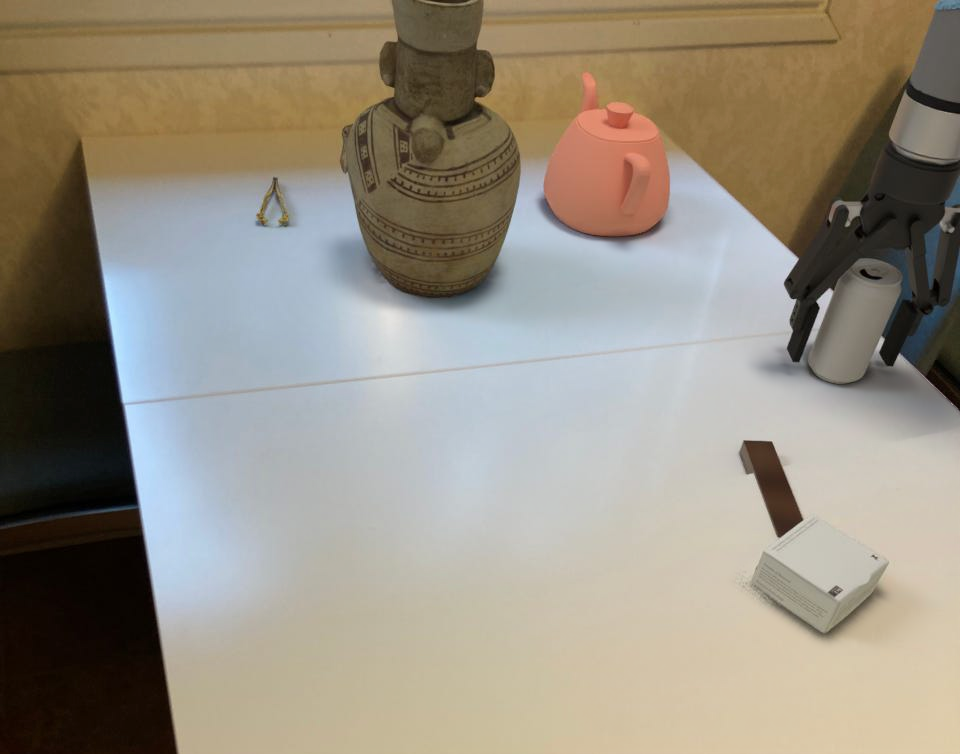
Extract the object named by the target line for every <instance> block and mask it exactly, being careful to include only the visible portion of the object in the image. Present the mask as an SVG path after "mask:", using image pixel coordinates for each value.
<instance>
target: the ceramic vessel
mask: <svg viewBox="0 0 960 754" xmlns="http://www.w3.org/2000/svg"><path fill="white" fill-rule="evenodd" d="M391 4H392V12H393V20H394V27H395V31H396V35H397V41H386V42H385V43H384V44H383V46H382V48H381V50H380V52H379V60H378V68H379V75H380V78H381V80H382V82H383V84H384V85H385V86H386V87H389V88H393V89H394V90H393V96H391V97H390V96H389V97H386V98H384V99H381V101H379V102H377V103H375V104H372V105H371V106H369V107H367V108H366V109H365V110H363V111H362V112H361V113H360V114H359V115H358V116H357V117H356V119H354V122H353V123H351V124H347V125H345V126H344V127H343V128H342V129H341V138H342V147H341V148H342V149H341V153H340V157H339V164H340V168H341V170H342V173H343V174H344V175H346V174H347V175H348V180H349V185H350V189H351V195H352V198H353V203H354V208H355V214H356V218H357V222H358V227H359V230H360V234H361V236H362V239H363V241H364V245H365V246H366V250H367V251H368V254H369V256H370V258H371V259H372V261H373V263H374V265H375V266H376V268H377V270H378V271H379V272H380V274H381V276H382V277H383V278H384V279H385V280H386V281H387V282H388V284H390V285H391V287H393V288H394V289H396V290H397V291H400V292H403V293H405V294H408V295H411V296H415V297H416V296H417V297H421V298H427V299H428V298H429V299H442V298H443V299H444V298H449V299H450V298H454V297H456V296H460V295H463V294H465V293H467V292H471V291H473V290H475V289H476V288H477V287H478V286H479V284H480V283H481V282H482V281H483V280H484V279H485V278H486V277H487V276H488V274H489V273H490V272H491V270H493V267H494V266H495V263H496V261H497V259H498V258H499V255H500V253H501V250H502V248H503V246H504V242H505V240H506V237H507V234H508V231H509V228H510V225H511V221H512V218H513V214H514V212H515V211H514V210H515V207H516V202H517V198H518V194H519V189H520V181H521V175H522V174H521V172H522V169H521V168H522V166H521V165H522V164H521V163H522V162H521V154H520V153H521V152H520V148H519V144H518V141H517V138H516V136H515V134H514V132H513V130H512V129H511V126H510V125H509V123H508V122H507V121H506V120H505V119H504V118H503V117H502V116H501V115H500V114H499V113H497V112H496V111H494V110H493V109H491V108H489V107H487V106H486V105H485V104H483V103H481V102H479V101H476V98H481V99H482V98H485V97H486V96H487V95H488V94H490V92H491V91H492V90H493V89H492V88H493V84H494V82H495V78H496V74H495V73H496V67H495V64H494V59H493V56H492V54H491V52H490V51H488V50H486V49H478V47H477V46H478V40H479V37H480V34H481V30H482V25H483V24H482V23H483V17H484V16H483V15H484V5H485V2H484V0H391Z"/></svg>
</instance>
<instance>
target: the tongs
mask: <svg viewBox="0 0 960 754" xmlns="http://www.w3.org/2000/svg"><path fill="white" fill-rule="evenodd" d="M274 192H276V195H277V197H278V200H279V202H280V208H281V210H282V214H283V216H281V217H280V218H278V219H277V222H278V224H279V225H281V227H283V226H285V225H286V223H287V222H288V221H289V220H290V214H288V212H287V208H286V205H285V200H284V199H285V198H284V195H283V192H282V191H281V189H280V187H279V178H278V176H276V177H275V176H273V177H272V182H271V185H270V188H269V189H268V191H266V192H265V194H264V195H263V197H262V203H261V205H260V209H259V212H257V213H256V214H255V217H256V219H257V221H259V222H260V224H261V225H262V226H266V225H267V224H268V218H266V217H265V215H264V214H265V211H266V210H267V209H268V202H269V201H270V198H271V197H272V195H273V194H274Z"/></svg>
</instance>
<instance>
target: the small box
mask: <svg viewBox="0 0 960 754" xmlns="http://www.w3.org/2000/svg"><path fill="white" fill-rule="evenodd" d="M889 563H890V561H889V560H888V559H887V558H886V557H885V556H883V555H881V554H880V553H878V552H877V551H875V550H874V549H872V548H871V547H870V546H867V545H866V544H864V543H862V542H860V540H857V539H856V538H854V537H852V536H851V535H849V534H847V533H846V532H844V531H843V530H841V529H839V528H837V527H836V526H834V525H833V524H831V523H829V522H828V521H826V520H825V519H823V518H822V517H820V516H819V515H816V514H815V513H811V514H810V515H808V516H807V517H806V518H803V521H802V522H800V523H799V524H798V525H796V526H795V527H794V528H792V529H791V530H790V531H788V532H787V533H786V534H785V535H783V536H782V537H781V538H777V540H775V541H774V542H773V543H772V544H770V545H769V546H768V547H766V548H765V549H764V550H763V551H762V552H761V555H760V558H759V561H758V563H757V565H756V567H755V569H754V573H753V574H752V578H751V580H750V582H749V583H750V584H751V585H752V586H753V587H755V588H756V589H758V590H759V591H760V592H762V593H763V594H765V595H766V596H767V597H769V598H770V599H772V600H773V601H774V602H776V603H777V604H779V605H780V606H782V607H783V608H784V609H786V610H787V611H789V612H791V614H793V615H795V616H796V617H798V618H799V619H800V620H802V621H803V622H805V623H807V624H808V625H810V627H813V628H814V629H815V630H818V631H819V632H821V633H822V634H827V633H828V632H829V631H830V630H832V629H834V628H835V627H836V626H837V625H838V624H839V623H840V622H842V621H843V620H844V619H845V618H846V617H848V616H849V615H850V614H851V613H852V612H853V611H854V610H856V609H857V608H858V607H859V606H860V605H861V604H862V603H863V602H864V601H865V600H867V599H868V598H869V597H870V596H871V595H872V594H873V592H874V590H875V589H876V587H877V585H878V583H879V581H880V580H881V578H882V576H883V574H884V573H885V571H886V570H887V567H888V566H889Z"/></svg>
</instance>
